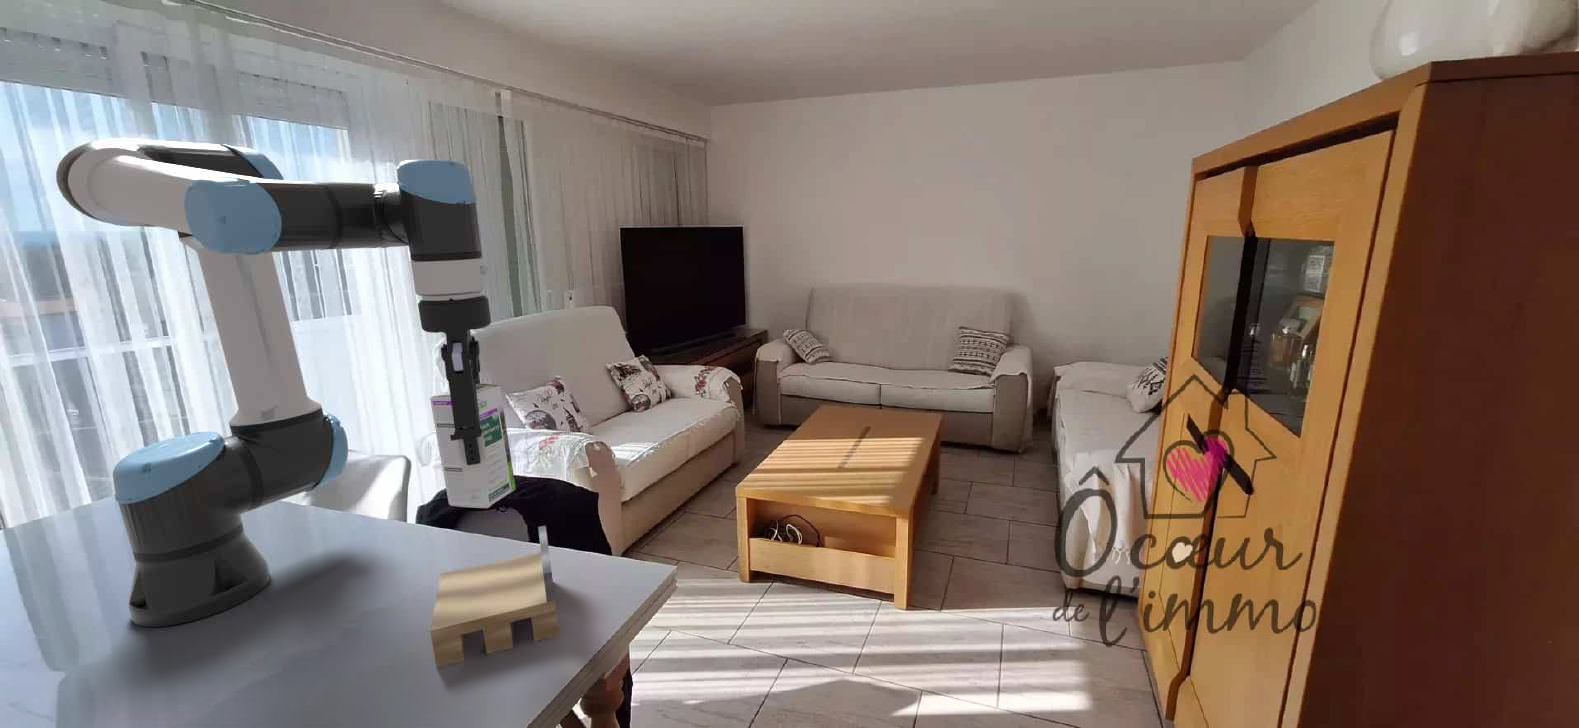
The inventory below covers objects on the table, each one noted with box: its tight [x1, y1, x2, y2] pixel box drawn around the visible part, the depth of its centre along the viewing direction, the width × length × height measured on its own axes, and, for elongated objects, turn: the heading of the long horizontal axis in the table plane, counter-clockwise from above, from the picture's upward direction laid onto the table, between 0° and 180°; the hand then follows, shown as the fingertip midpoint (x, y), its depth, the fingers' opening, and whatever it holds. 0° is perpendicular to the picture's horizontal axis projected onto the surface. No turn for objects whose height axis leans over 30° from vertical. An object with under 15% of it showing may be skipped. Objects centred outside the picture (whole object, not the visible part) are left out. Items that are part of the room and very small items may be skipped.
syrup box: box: [429, 383, 517, 509], centre depth 80 cm, size 6×6×14 cm
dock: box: [429, 525, 560, 668], centre depth 84 cm, size 14×14×9 cm
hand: (479, 475), depth 81 cm, fingers closed on syrup box, 8 cm apart
